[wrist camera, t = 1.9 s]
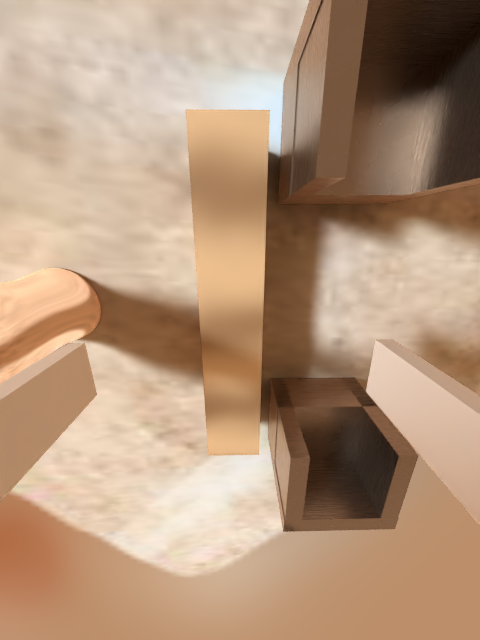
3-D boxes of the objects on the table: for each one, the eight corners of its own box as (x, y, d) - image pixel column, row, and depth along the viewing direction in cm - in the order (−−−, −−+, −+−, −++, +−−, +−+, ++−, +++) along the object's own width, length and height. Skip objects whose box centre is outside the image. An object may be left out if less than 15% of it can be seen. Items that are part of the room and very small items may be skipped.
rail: (201, 149, 17) (185, 109, 11) (258, 149, 17) (269, 110, 11) (214, 407, 24) (208, 455, 19) (253, 407, 24) (258, 454, 19)
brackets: (283, 82, 15) (337, -90, 7) (408, 82, 15) (600, -88, 7) (268, 436, 25) (283, 531, 17) (343, 434, 25) (394, 528, 17)
